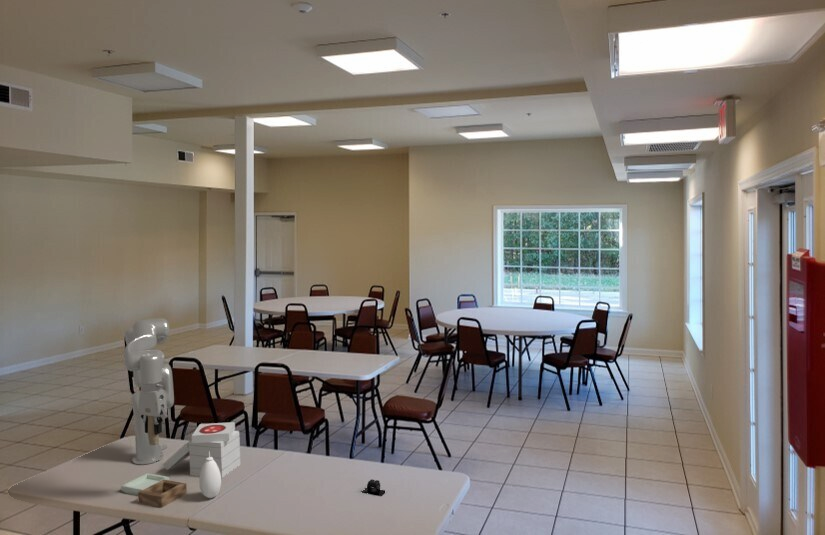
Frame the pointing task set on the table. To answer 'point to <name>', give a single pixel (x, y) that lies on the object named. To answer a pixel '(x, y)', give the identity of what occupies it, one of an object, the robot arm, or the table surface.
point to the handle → (151, 430)
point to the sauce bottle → (210, 478)
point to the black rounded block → (374, 488)
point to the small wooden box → (160, 500)
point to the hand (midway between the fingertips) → (153, 432)
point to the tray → (142, 483)
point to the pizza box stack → (210, 448)
